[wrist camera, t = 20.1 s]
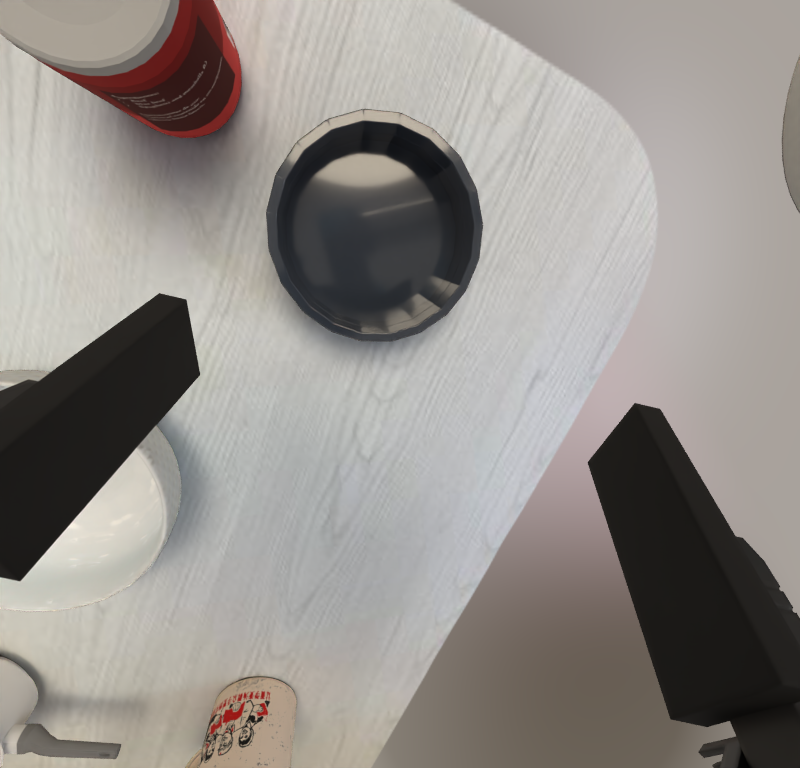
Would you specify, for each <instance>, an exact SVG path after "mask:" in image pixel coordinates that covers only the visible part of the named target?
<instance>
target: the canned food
mask: <svg viewBox="0 0 800 768" xmlns="http://www.w3.org/2000/svg"><path fill="white" fill-rule="evenodd" d="M0 34H1V35H3V36H4V37H5V38H7V39H8V40H9V41H10V42H12V43H13V44H14V45H15V46H16V47H18V48H20V49H21V50H23V51H25V52H26V53H28V54H30V55H31V56H33V57H34V58H36V59H37V60H38V61H40V62H42V63H43V64H45V65H47V66H48V67H50V68H52V69H53V70H55V71H57V72H58V73H60V74H62V75H63V76H65V77H67V78H68V79H70V80H72V81H73V82H75V83H77V84H78V85H80V86H82V87H83V88H85V89H87V90H88V91H90V92H92V93H93V94H95V95H97V96H99V97H100V98H102V99H104V100H105V101H107V102H109V103H110V104H112V105H114V106H115V107H117V108H119V109H120V110H122V111H124V112H125V113H127V114H129V115H130V116H132V117H134V118H135V119H137V120H139V121H141V122H142V123H144V124H146V125H147V126H149V127H151V128H152V129H154V130H157V131H159V132H162V133H164V134H167V135H170V136H175V137H180V138H195V137H200V136H204V135H208V134H210V133H212V132H214V131H216V130H218V129H219V128H221V127H222V126H223V125H224V124H225V123H226V122H227V121H228V120H229V118H230V117H231V116H232V114H233V113H234V111H235V108H236V106H237V103H238V100H239V96H240V90H241V66H240V60H239V55H238V52H237V49H236V46H235V43H234V40H233V38H232V36H231V34H230V32H229V30H228V28H227V26H226V24H225V22H224V20H223V18H222V16H221V14H220V13H219V11H218V9H217V7H216V5H215V3H214V1H213V0H0Z"/></svg>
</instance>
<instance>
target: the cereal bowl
mask: <svg viewBox="0 0 800 768" xmlns="http://www.w3.org/2000/svg"><path fill="white" fill-rule="evenodd" d="M49 373H51V372H45V371H38V370H7V371H0V391H1V390H4V389H6V388H8V387H11V386H13V385H16V384H18V383H21V382H23V381H25V380H28V379H30V380H34V381H40V380H41V379H42V378H44V377H45V376H46V375H48V374H49ZM180 500H181V477H180V470H179V467H178V463H177V459H176V457H175V455H174V452H173V449H172V448H171V446H170V444H169V443H168V440H167V439H166V437H165V436H164V435H163V433H162V431H161V430H160V429H159V428H158V427H157V425H156V426H155V427H154V428H153V430H152V431H151V432H150V433H149V434H148V435H147V436H146V438H145V439H144V440H143V441H142V442H141V443H140V445H139V446H138V447H137V448H136V449H135V450H134V451H133V453H132V454H131V455H130V456H129V457H128V458H127V459H126V461H125V462H124V463H123V464H122V465H121V466H120V468H119V469H118V470H117V471H116V472H115V473H114V474H113V476H112V477H111V478H110V479H109V480H108V481H107V482H106V484H105V485H104V486H103V487H102V488H101V489H100V491H99V492H98V493H97V494H96V495H95V496H94V497H93V499H92V500H91V501H90V502H89V503H88V504H87V506H86V507H85V508H84V509H83V510H82V511H81V512H80V514H79V515H78V516H77V517H76V518H75V519H74V520H73V522H72V523H71V524H70V525H69V526H68V527H67V529H66V530H65V531H64V532H63V533H62V534H61V535H60V537H59V538H58V539H57V540H56V541H55V542H54V543H53V545H52V546H51V547H50V548H49V549H48V550H47V552H46V553H45V554H44V555H43V556H42V557H41V558H40V560H39V561H38V562H37V563H36V564H35V565H34V566H33V568H32V569H31V570H30V571H29V572H28V573H27V575H26V576H25V577H24V578H23V579H22V580H21V581H15V580H10V579H6V578H1V577H0V609H4V610H13V611H24V612H46V611H58V610H66V609H72V608H77V607H82V606H86V605H89V604H93V603H96V602H99V601H102V600H104V599H107V598H109V597H111V596H113V595H115V594H117V593H119V592H121V591H122V590H124V589H126V588H127V587H129V586H130V585H131V584H133V583H134V582H135V581H136V580H138V579H139V578H140V577H141V576H142V575H143V574H144V573H145V572H146V571H147V570H148V569H149V568H150V567H151V565H152V564H153V563H154V561H155V560H156V559H157V558H158V557H159V555H160V552H161V551H162V549H163V548H164V546H165V543H166V541H167V540H168V539H169V535H170V533H171V531H172V529H173V525H174V523H175V521H176V519H177V513H178V512H179V505H180Z"/></svg>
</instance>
